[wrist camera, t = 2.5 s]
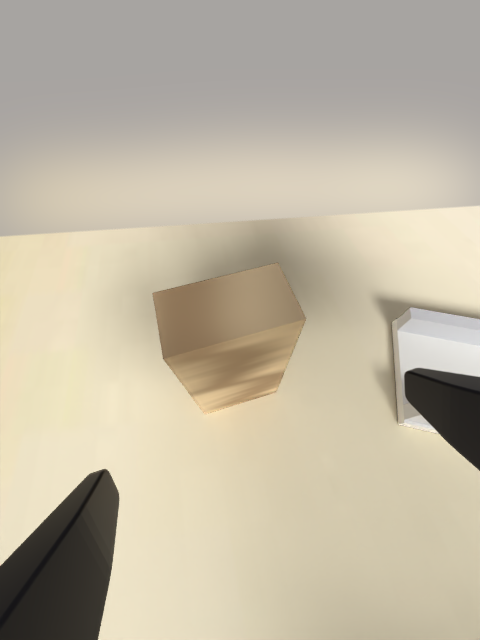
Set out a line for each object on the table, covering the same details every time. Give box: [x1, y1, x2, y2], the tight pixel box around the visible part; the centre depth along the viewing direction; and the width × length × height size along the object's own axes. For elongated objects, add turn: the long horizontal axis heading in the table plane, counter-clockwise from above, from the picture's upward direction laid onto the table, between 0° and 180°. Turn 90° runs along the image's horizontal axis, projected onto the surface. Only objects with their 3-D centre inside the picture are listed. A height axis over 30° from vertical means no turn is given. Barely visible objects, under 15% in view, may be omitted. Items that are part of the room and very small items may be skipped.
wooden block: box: [153, 263, 306, 414], centre depth 15 cm, size 6×3×11 cm, turn 107°
